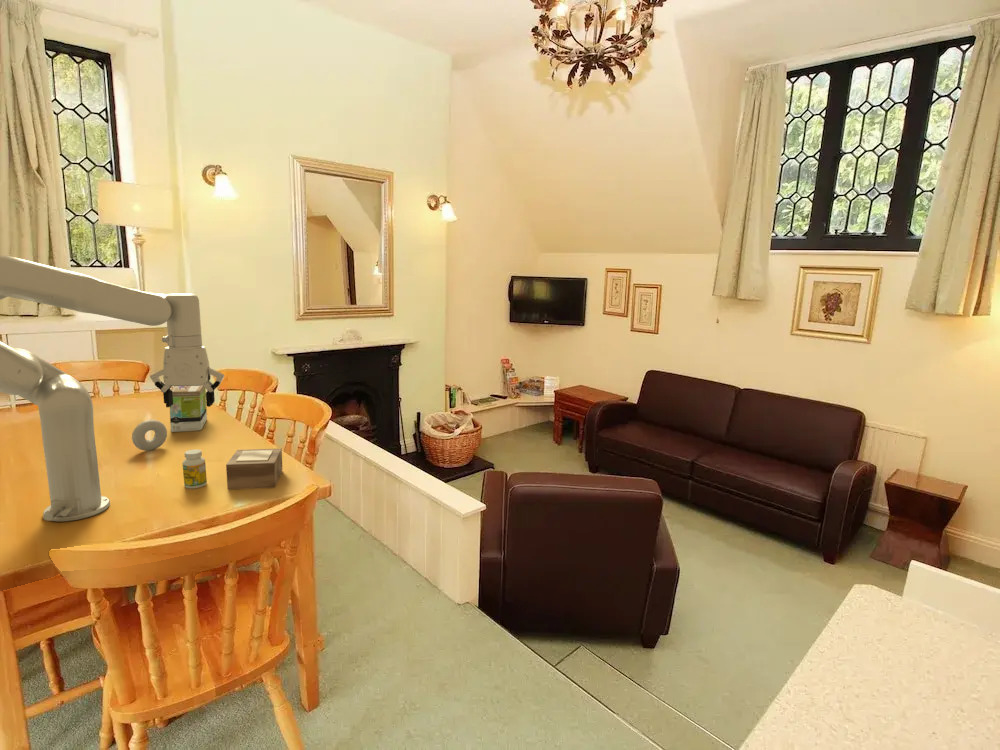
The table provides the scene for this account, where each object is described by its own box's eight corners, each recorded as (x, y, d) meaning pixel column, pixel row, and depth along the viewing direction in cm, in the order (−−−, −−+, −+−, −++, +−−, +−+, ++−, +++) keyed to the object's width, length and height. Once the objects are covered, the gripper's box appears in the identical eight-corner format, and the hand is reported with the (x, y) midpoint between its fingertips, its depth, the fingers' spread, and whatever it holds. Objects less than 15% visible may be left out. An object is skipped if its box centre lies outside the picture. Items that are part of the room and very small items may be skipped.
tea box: (202, 430, 194) (199, 390, 191) (170, 432, 190) (167, 391, 187) (207, 419, 208) (205, 381, 205) (177, 421, 204) (174, 382, 201)
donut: (136, 455, 167) (133, 424, 166) (131, 453, 169) (128, 422, 167) (170, 447, 176) (168, 417, 174) (165, 445, 178) (162, 415, 176)
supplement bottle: (211, 482, 150) (209, 449, 148) (197, 490, 145) (195, 455, 143) (193, 480, 151) (191, 447, 149) (179, 488, 145) (176, 453, 144)
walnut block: (275, 487, 148) (274, 461, 147) (227, 489, 146) (226, 463, 144) (282, 471, 160) (281, 447, 158) (238, 472, 157) (237, 448, 156)
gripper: (141, 343, 135) (147, 410, 138) (217, 344, 138) (221, 408, 142) (153, 339, 142) (159, 402, 145) (225, 340, 146) (229, 401, 149)
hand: (190, 405), depth 143 cm, fingers open, 9 cm apart
